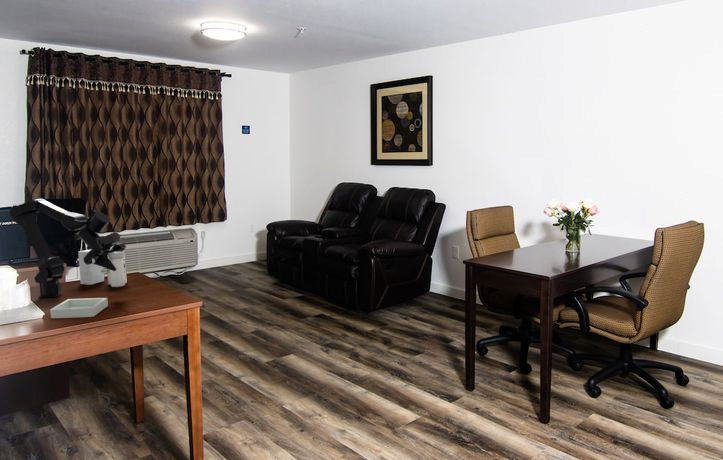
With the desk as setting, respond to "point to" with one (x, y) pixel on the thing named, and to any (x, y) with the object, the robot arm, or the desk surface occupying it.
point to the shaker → (117, 269)
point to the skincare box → (89, 270)
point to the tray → (79, 308)
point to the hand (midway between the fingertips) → (120, 268)
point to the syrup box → (124, 271)
